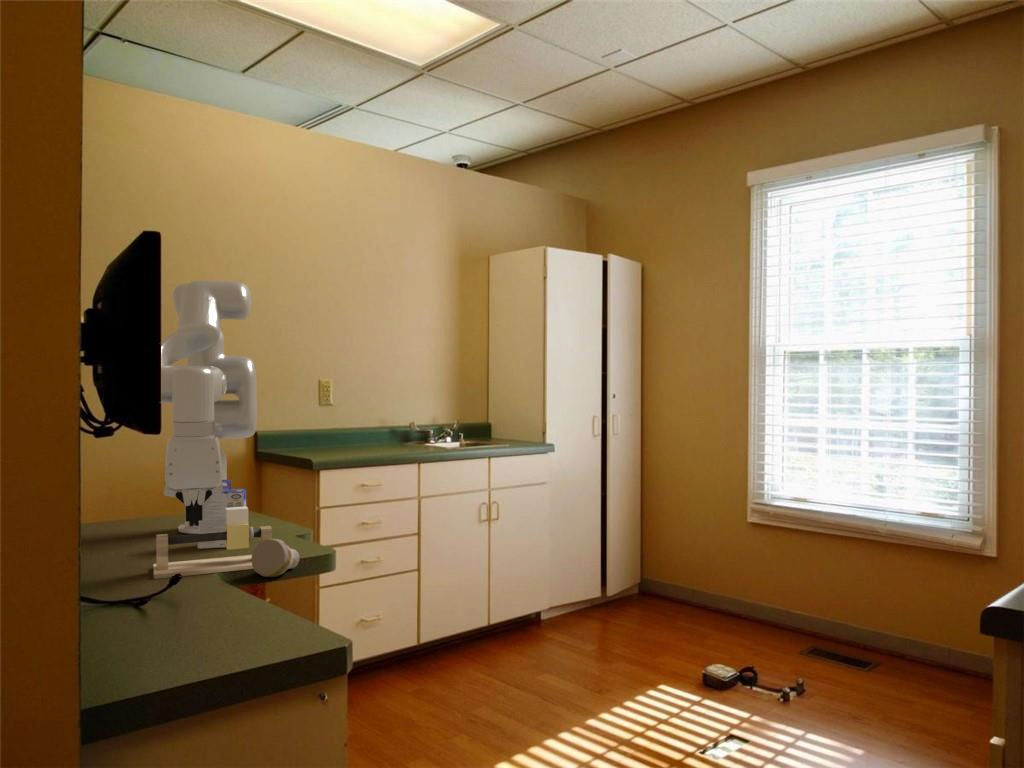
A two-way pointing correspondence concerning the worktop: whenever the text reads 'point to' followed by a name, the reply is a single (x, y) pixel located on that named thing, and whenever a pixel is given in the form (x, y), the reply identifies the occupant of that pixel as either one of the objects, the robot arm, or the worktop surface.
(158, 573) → the roller holder rack
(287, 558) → the mug
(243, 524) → the sleeve
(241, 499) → the ink cartridge box
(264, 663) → the worktop surface
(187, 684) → the worktop surface
